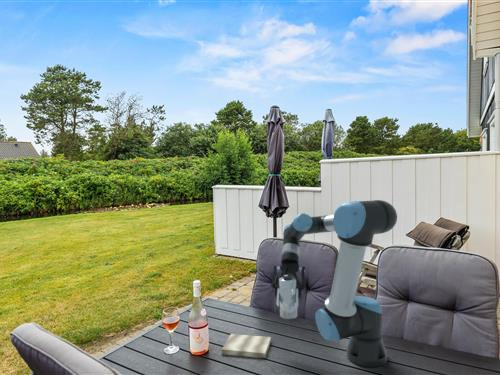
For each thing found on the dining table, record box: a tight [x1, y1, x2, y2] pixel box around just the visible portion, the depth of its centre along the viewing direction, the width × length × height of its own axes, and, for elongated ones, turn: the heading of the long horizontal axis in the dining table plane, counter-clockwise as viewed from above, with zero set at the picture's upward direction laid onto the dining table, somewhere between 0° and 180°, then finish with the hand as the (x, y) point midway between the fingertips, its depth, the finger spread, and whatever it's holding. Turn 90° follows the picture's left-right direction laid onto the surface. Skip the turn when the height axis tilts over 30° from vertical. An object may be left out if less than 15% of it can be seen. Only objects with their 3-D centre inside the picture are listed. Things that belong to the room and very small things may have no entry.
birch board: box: [221, 333, 272, 359], centre depth 144 cm, size 18×14×2 cm
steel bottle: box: [278, 274, 298, 320], centre depth 140 cm, size 7×7×17 cm
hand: (287, 305), depth 137 cm, fingers closed on steel bottle, 7 cm apart
